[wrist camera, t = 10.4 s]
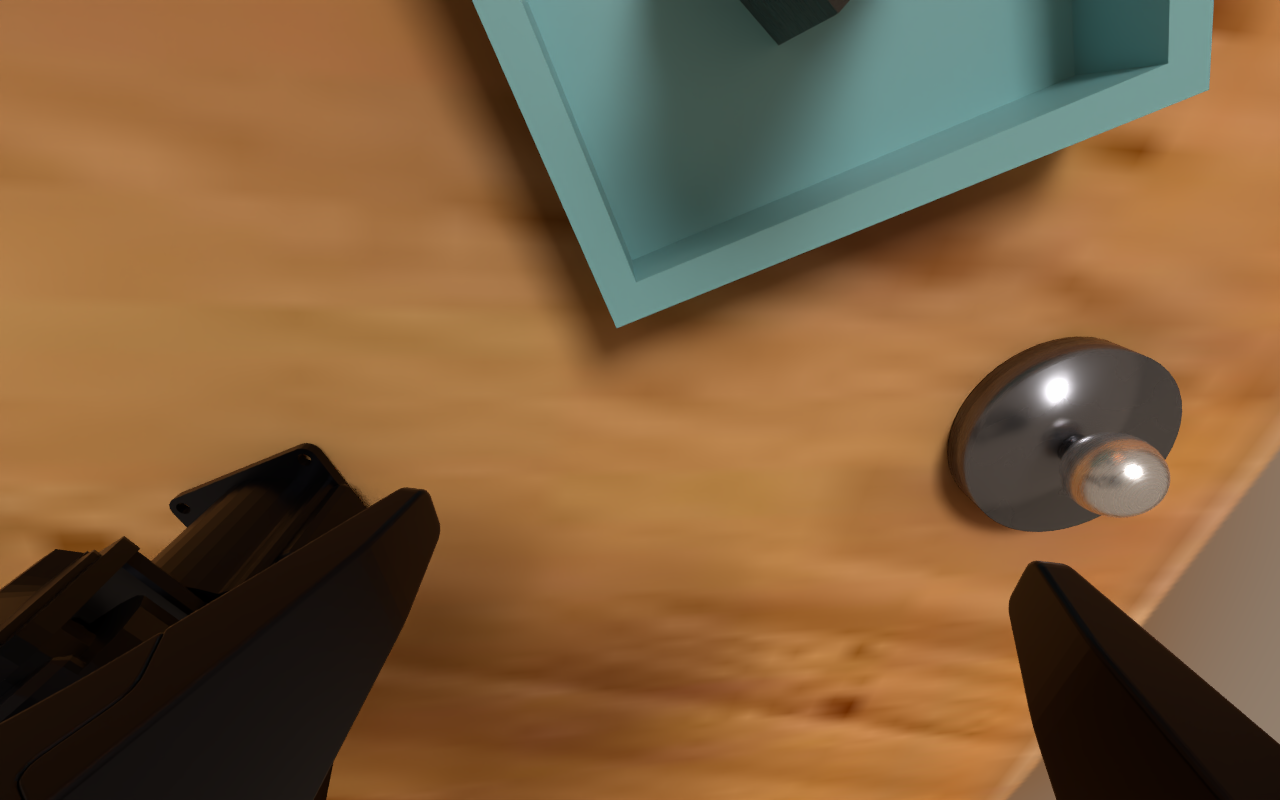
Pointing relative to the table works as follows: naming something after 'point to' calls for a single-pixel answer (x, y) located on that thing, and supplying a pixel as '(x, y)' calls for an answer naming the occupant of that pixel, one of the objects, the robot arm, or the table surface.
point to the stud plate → (1067, 435)
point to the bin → (811, 116)
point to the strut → (791, 15)
